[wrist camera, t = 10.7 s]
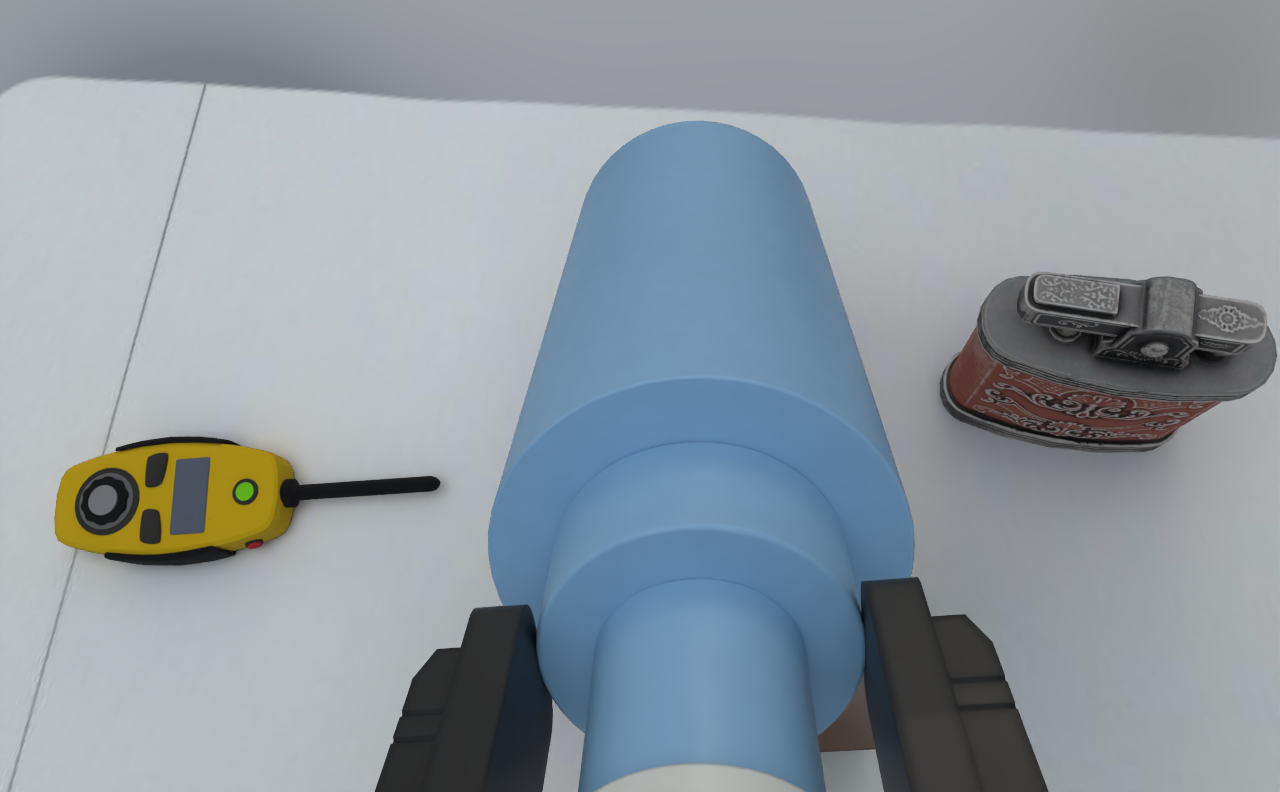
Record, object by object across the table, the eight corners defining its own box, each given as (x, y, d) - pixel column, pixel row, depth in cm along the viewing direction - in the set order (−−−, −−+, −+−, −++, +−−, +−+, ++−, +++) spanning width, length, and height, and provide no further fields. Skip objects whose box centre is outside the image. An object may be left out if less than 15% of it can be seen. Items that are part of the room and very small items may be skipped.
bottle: (590, 213, 30) (359, -385, 13) (801, 189, 29) (848, -473, 12) (623, 847, 25) (319, 1213, 8) (877, 835, 25) (1124, 1207, 8)
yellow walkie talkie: (54, 441, 38) (431, 412, 36) (87, 452, 40) (447, 424, 38) (39, 568, 37) (428, 544, 35) (74, 573, 39) (446, 550, 37)
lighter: (1176, 376, 35) (1328, 265, 26) (1168, 467, 34) (1322, 388, 25) (945, 340, 37) (1009, 221, 27) (933, 427, 36) (993, 336, 26)
